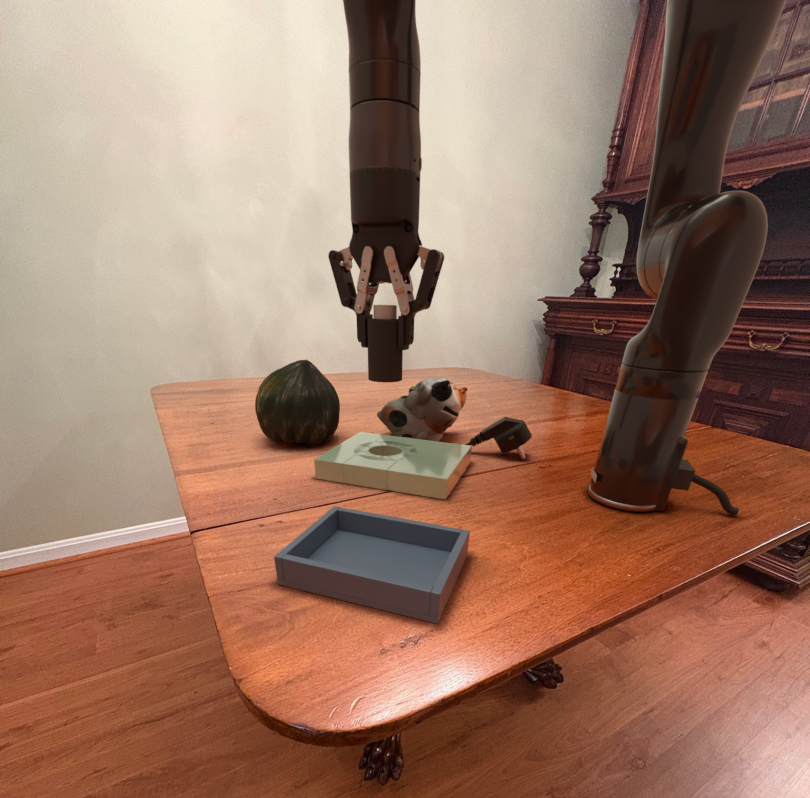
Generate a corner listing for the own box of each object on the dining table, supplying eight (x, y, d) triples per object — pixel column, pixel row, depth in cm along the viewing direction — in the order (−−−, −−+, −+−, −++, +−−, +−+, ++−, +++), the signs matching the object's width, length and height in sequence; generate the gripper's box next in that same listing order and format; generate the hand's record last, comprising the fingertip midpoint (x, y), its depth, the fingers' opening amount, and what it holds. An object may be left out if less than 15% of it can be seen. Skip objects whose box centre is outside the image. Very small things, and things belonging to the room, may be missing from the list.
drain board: (470, 463, 71) (472, 445, 69) (445, 499, 57) (447, 479, 56) (360, 448, 76) (360, 431, 75) (315, 478, 63) (313, 459, 62)
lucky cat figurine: (416, 424, 91) (452, 365, 84) (449, 459, 86) (490, 400, 79) (364, 413, 80) (400, 345, 73) (398, 453, 75) (440, 383, 68)
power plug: (457, 442, 78) (518, 406, 73) (478, 475, 80) (538, 444, 75) (454, 451, 73) (518, 414, 68) (476, 487, 75) (540, 454, 70)
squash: (252, 401, 82) (248, 342, 69) (328, 400, 88) (339, 346, 74) (261, 465, 78) (260, 417, 65) (341, 461, 84) (355, 415, 70)
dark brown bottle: (407, 378, 56) (408, 305, 52) (394, 383, 53) (395, 305, 49) (376, 375, 58) (375, 304, 53) (362, 380, 54) (360, 304, 50)
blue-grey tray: (467, 556, 45) (470, 530, 43) (437, 624, 35) (440, 594, 34) (335, 529, 49) (333, 505, 48) (277, 584, 40) (273, 556, 38)
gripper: (307, 167, 44) (320, 347, 52) (439, 157, 40) (430, 354, 48) (341, 184, 50) (348, 343, 59) (459, 176, 46) (448, 349, 54)
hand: (385, 347), depth 53 cm, fingers closed on dark brown bottle, 4 cm apart
